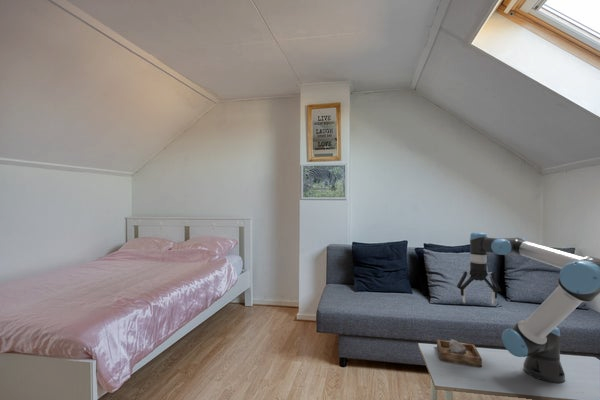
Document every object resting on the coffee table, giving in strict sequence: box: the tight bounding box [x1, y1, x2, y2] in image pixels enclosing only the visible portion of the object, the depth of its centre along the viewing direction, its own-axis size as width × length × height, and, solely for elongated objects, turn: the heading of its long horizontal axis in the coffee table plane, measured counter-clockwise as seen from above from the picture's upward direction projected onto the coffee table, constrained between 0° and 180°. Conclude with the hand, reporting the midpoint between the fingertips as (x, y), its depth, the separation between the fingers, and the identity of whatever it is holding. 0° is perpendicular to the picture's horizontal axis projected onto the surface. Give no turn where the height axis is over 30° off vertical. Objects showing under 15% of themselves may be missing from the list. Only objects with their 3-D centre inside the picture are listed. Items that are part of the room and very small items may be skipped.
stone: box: [449, 338, 466, 355], centre depth 162 cm, size 10×8×6 cm
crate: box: [436, 339, 483, 368], centre depth 161 cm, size 18×16×4 cm
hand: (478, 303), depth 164 cm, fingers open, 13 cm apart
